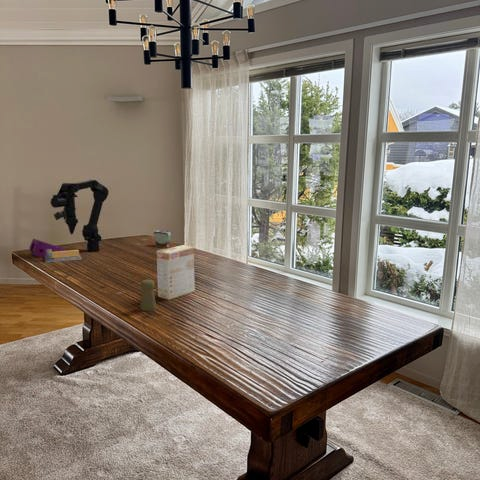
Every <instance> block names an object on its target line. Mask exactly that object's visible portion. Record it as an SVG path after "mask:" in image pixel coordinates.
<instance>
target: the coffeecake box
mask: <svg viewBox="0 0 480 480" xmlns="http://www.w3.org/2000/svg"><path fill="white" fill-rule="evenodd" d="M156 276H157V277H156V278H157V297H159V298H162V299H165V300H168V301H169V300H172V299H176V298H178V297H181V296H184V295H188V294H190V293H191V294H192V293H193V292H195V291H196V290H195V288H196V287H195V247H194V246H189V245H185V244H182V245H177V246H172V247H169V248H163V249H159V250H156Z"/></svg>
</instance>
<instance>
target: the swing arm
mask: <svg viewBox="0 0 480 480" xmlns="http://www.w3.org/2000/svg"><path fill="white" fill-rule="evenodd" d="M79 254H80V250H79V249H70V250H66V251H53V250H52V249H46V258H47V259H52V258H60V257H72V256H79Z"/></svg>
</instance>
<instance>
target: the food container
mask: <svg viewBox="0 0 480 480" xmlns="http://www.w3.org/2000/svg"><path fill="white" fill-rule="evenodd" d="M153 234H154V235H153V237H154V244H155V245H154V246H155V247H157V248H163V249H167V248H170V238H171V237H170V236H171V235H172V234H171V231H170V230H167V229H155V230H153Z"/></svg>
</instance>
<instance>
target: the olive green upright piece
mask: <svg viewBox="0 0 480 480" xmlns="http://www.w3.org/2000/svg"><path fill="white" fill-rule="evenodd" d="M155 286H156V285H155V281H154V280H152V279H143V280H141V282H140V289H141V299H140V305H139V306H140V307H139V309H140V310H141V311H143V312H151V311H154V310H156V309H157V303H156V298H155V292H154V288H155Z"/></svg>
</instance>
